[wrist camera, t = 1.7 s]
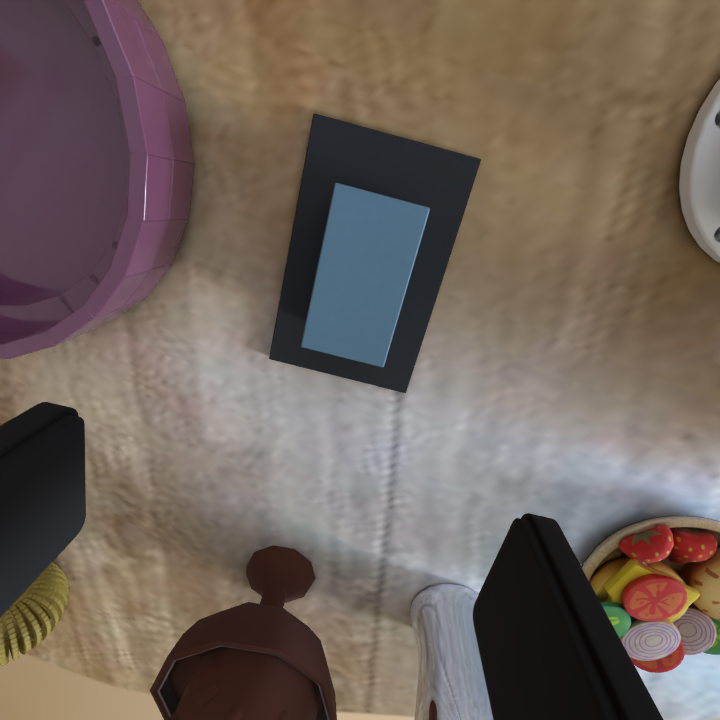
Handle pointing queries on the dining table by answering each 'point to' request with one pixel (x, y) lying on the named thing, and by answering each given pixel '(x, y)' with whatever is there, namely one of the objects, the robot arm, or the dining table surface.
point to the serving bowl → (85, 167)
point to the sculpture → (34, 613)
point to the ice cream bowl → (251, 655)
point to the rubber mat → (389, 178)
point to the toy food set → (661, 588)
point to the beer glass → (448, 656)
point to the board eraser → (362, 274)
